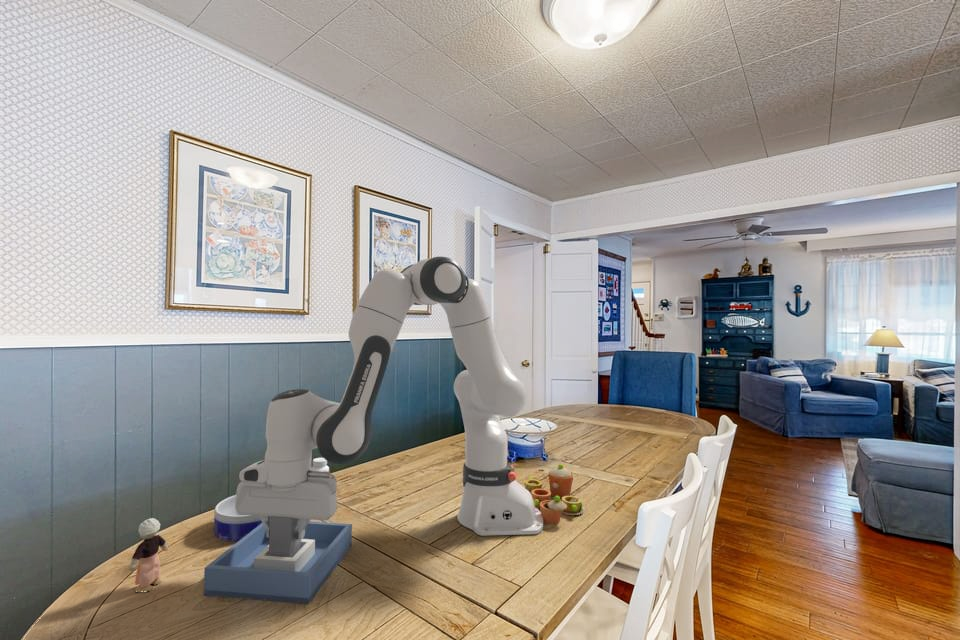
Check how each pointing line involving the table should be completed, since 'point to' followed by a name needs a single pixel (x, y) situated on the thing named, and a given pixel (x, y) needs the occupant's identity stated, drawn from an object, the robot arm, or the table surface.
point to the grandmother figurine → (148, 555)
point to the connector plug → (283, 536)
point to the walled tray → (278, 565)
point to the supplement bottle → (320, 465)
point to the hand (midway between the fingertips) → (285, 537)
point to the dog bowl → (232, 521)
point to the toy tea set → (560, 489)
